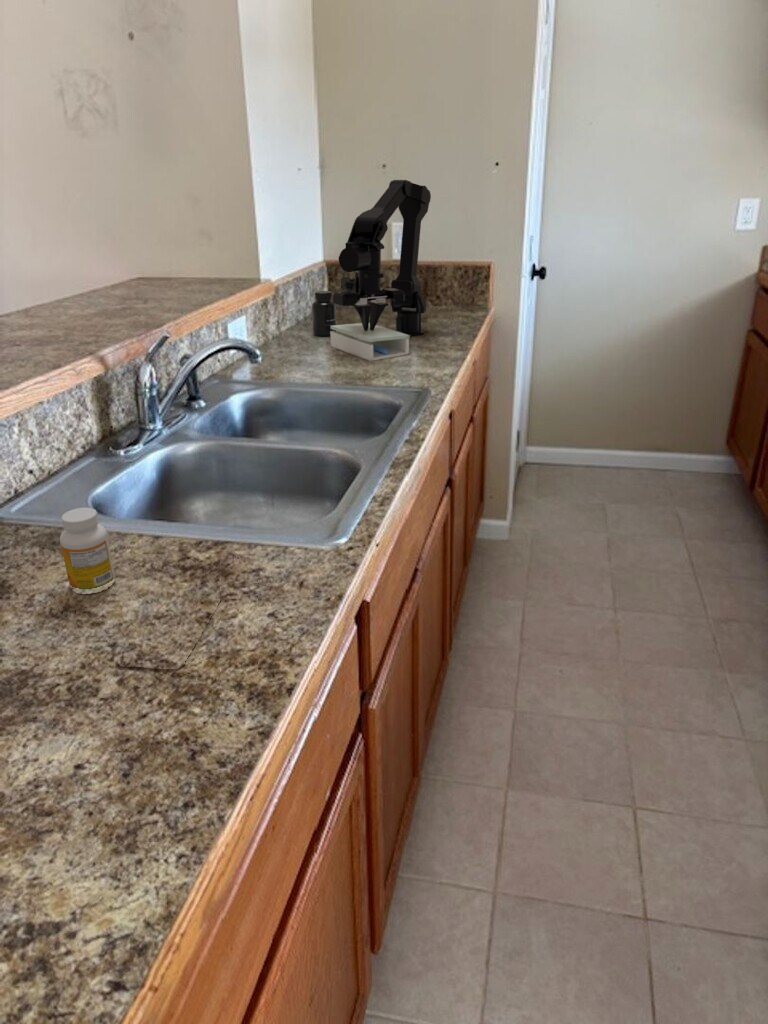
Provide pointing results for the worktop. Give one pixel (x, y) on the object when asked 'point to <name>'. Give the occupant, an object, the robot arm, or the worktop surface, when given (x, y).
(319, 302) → the supplement bottle
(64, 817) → the worktop surface
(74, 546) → the supplement bottle
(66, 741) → the worktop surface
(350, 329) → the duct cover
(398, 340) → the cable duct
